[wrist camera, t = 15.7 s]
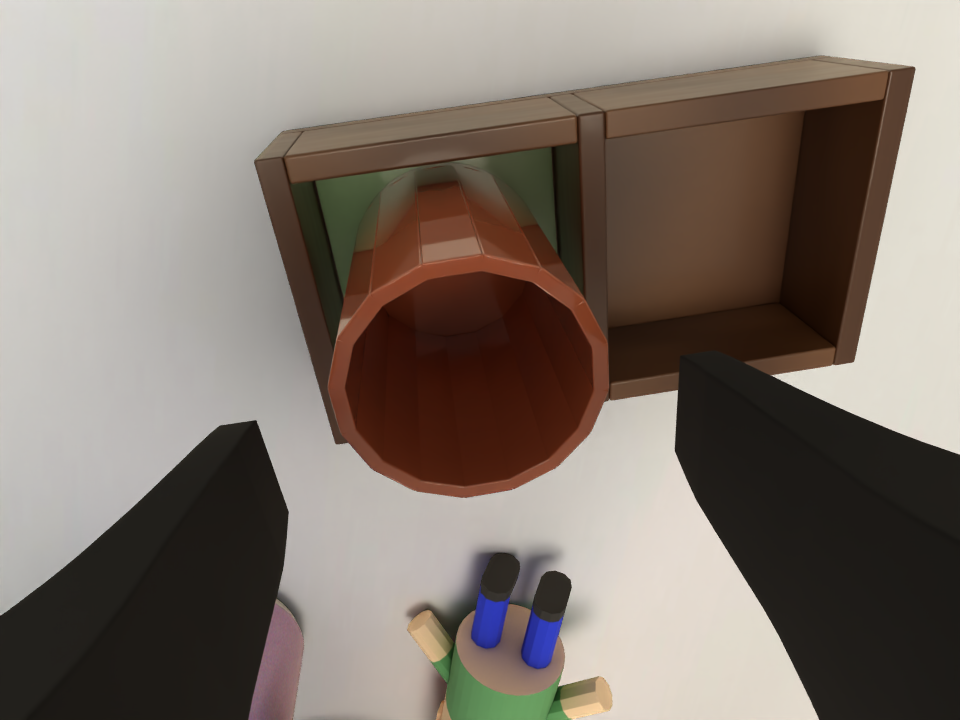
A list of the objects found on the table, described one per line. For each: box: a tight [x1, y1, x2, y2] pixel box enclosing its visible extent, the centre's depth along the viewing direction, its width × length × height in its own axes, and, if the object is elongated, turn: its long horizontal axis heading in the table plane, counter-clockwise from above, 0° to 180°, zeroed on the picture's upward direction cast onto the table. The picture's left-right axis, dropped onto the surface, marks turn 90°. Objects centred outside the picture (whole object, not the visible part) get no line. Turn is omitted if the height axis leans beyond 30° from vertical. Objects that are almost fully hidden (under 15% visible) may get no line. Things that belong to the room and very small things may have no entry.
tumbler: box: [328, 163, 609, 498], centre depth 14 cm, size 5×5×7 cm
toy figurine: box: [407, 553, 612, 720], centre depth 25 cm, size 8×4×12 cm
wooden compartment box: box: [254, 56, 915, 444], centre depth 17 cm, size 14×7×4 cm, turn 97°
